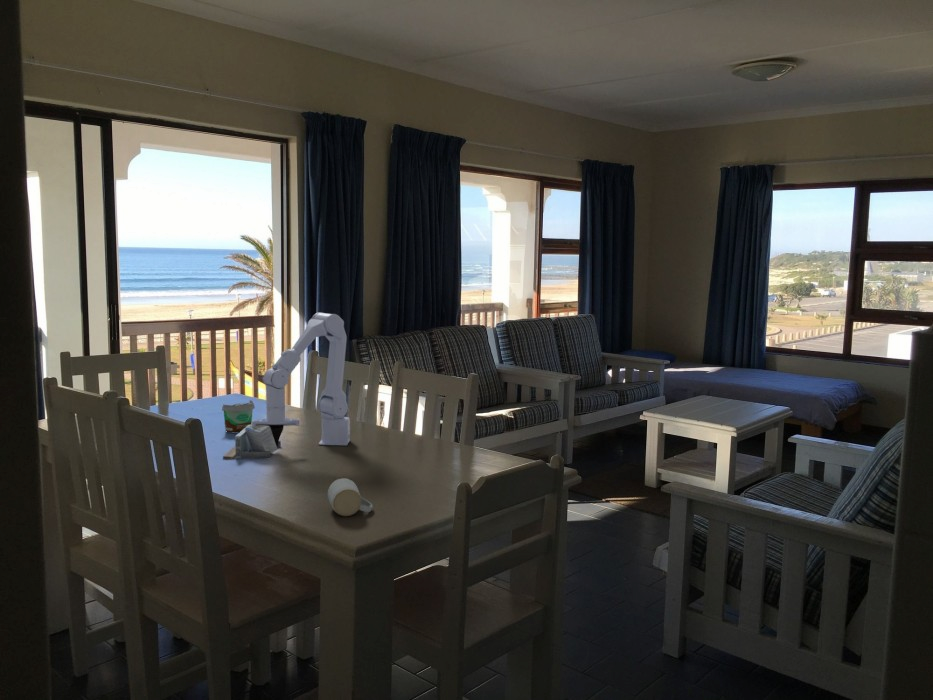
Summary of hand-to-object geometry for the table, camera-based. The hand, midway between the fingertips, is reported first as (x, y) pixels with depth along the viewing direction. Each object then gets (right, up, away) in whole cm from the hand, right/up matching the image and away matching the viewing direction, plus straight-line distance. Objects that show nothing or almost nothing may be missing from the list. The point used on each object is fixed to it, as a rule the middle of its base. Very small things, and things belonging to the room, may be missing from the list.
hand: (276, 448), depth 240 cm
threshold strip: (-13, -1, 0) cm, 13 cm away
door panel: (-10, -1, 0) cm, 10 cm away
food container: (-19, +2, +27) cm, 33 cm away
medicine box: (-3, -1, -1) cm, 4 cm away
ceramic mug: (+32, -9, -53) cm, 63 cm away
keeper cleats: (-5, -1, 0) cm, 5 cm away
